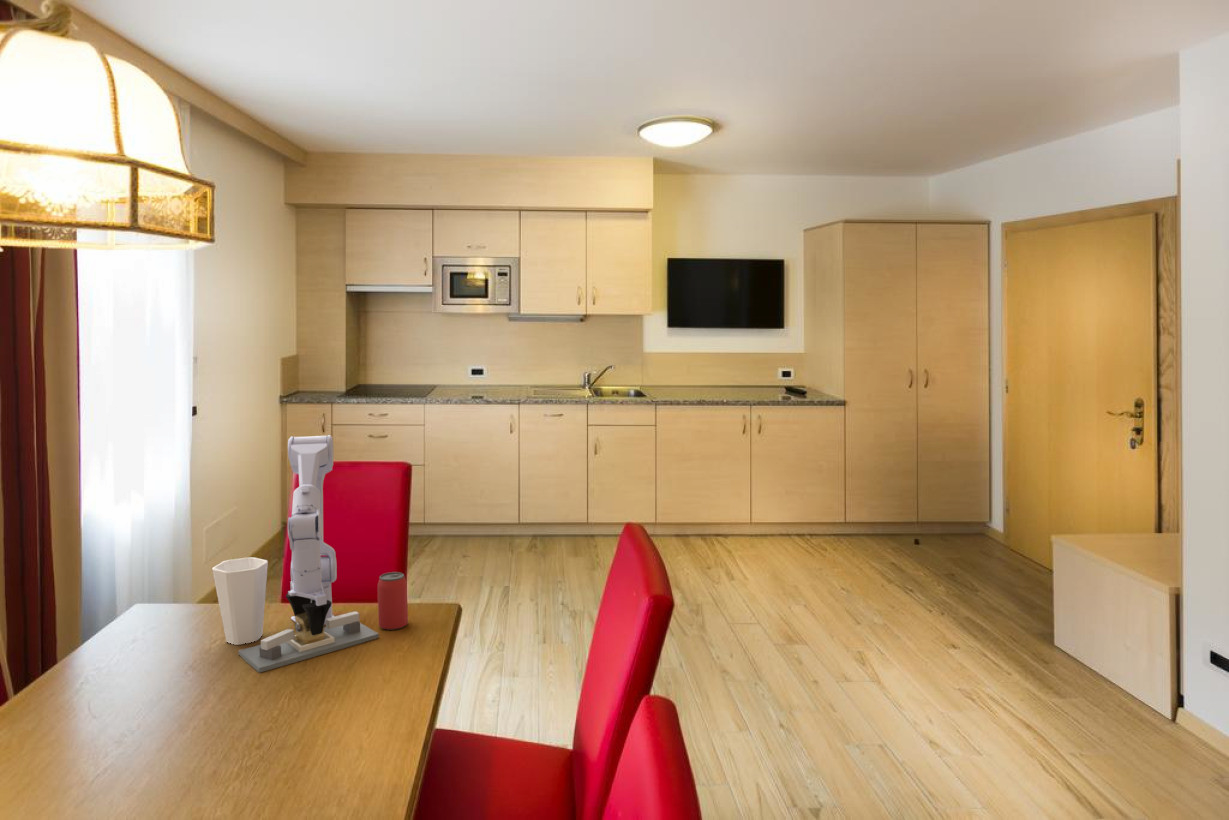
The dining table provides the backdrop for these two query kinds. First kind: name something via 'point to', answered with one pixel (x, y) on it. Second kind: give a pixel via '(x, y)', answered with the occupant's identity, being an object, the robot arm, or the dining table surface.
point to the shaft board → (288, 651)
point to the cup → (241, 598)
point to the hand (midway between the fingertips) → (309, 629)
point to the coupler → (305, 631)
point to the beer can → (392, 601)
